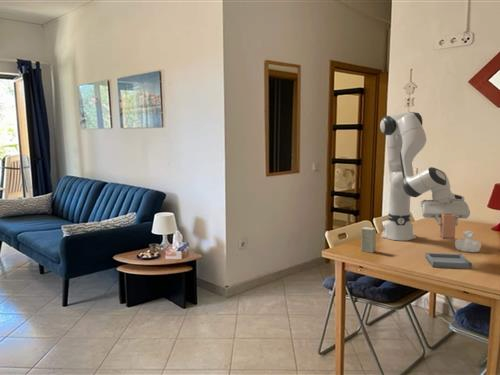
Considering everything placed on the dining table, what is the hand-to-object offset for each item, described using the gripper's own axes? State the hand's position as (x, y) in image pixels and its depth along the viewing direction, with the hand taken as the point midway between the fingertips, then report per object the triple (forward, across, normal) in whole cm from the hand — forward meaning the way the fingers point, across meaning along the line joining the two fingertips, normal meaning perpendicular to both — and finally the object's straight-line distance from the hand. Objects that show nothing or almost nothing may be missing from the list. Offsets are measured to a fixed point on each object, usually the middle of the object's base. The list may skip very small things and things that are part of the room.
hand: (448, 224), depth 183 cm
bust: (-4, +17, +30) cm, 34 cm away
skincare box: (+2, -33, +24) cm, 41 cm away
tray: (+12, +1, +14) cm, 18 cm away
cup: (+4, 0, +5) cm, 6 cm away
